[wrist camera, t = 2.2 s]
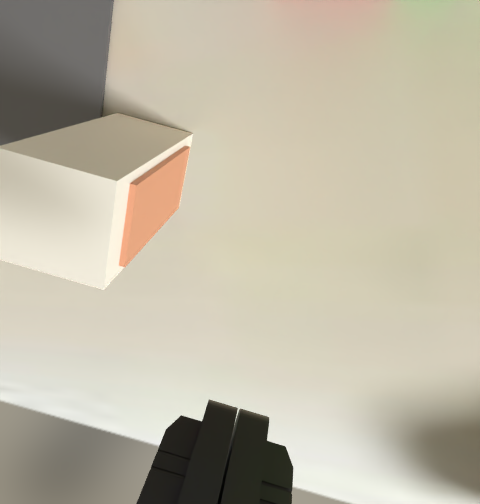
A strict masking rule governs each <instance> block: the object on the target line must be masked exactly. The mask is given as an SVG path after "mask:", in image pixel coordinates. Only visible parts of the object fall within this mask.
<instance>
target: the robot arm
mask: <svg viewBox="0 0 480 504" xmlns="http://www.w3.org/2000/svg"><path fill="white" fill-rule="evenodd" d="M237 409H238V408H236V407H232V406H229V405H226V404H222V403H219V402H216V401H212V400H209V401H208V404H207V408H206V411H205V414H204V417H203V421H202V422H201V421H198V420H195V419H191V418H188V417H185V416H180V417H179V418H178V419H177V420H176V421H175V422H174V423H173V424H172V425H170V426H169V427H168V428H167V429H166V431H165V434H164V436H163V439H162V441H161V444H160V446H159V449H158V452H157V454H156V456H155V459H154V461H153V464H152V467H151V470H150V471H149V474H148V476H147V479H146V481H145V484H144V486H143V489H142V491H141V494H140V497H139V499H138V501H137V504H291V503H292V494H291V492H292V482H293V466H292V463H291V460H290V458H289V455H288V452H287V450H286V447H285V446H282V445H279V444H275V443H272V442H269V441H267V434H268V426H269V417H267V416H263V415H260V414H257V413H253V412H250V411H246V410H243V409H240V410H239V412H238V415H237V418H236V414H237ZM235 419H236V422H235ZM234 424H235V425H234Z"/></svg>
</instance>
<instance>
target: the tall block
mask: <svg viewBox="0 0 480 504" xmlns="http://www.w3.org/2000/svg"><path fill="white" fill-rule="evenodd" d="M192 137H193V133H189V132H186V131H182V130H178V129H175V128H171V127H168V126H164V125H160V124H157V123H153V122H149V121H146V120H142V119H138V118H135V117H131V116H127V115H124V114H120V113H115V114H112V115H108V116H105V117H101V118H98V119H94V120H90V121H87V122H83V123H80V124H76V125H73V126H69V127H66V128H62V129H58V130H55V131H51V132H48V133H44V134H41V135H37V136H33V137H30V138H26V139H23V140H19V141H16V142H12V143H8V144H5V145H1V146H0V260H2V261H6V262H9V263H12V264H16V265H19V266H23V267H26V268H30V269H33V270H36V271H40V272H43V273H47V274H50V275H54V276H57V277H60V278H64V279H67V280H71V281H74V282H78V283H81V284H84V285H88V286H91V287H95V288H98V289H102V290H104V289H105V288H106V287H107V286H108V285H109V284H110V283H111V281H112V280H113V279H114V278H115V277H116V276H117V275H118V274H119V273H120V271H121V270H122V269H123V268H124V267H126V266H127V264H128V263H129V262H130V261H131V260H132V259H133V258H134V257H135V256H136V255H137V253H138V252H139V251H140V250H141V249H142V248H143V247H144V246H145V245H146V243H147V242H148V241H149V240H150V239H151V238H152V237H153V236H154V235H155V233H156V232H157V231H158V230H159V229H160V228H161V227H162V226H163V225H164V224H165V222H166V221H167V220H168V219H169V218H170V217H171V216H172V215H173V214H174V212H175V211H176V210H177V209H178V208H179V206H180V200H181V195H182V190H183V184H184V179H185V174H186V169H187V163H188V158H189V153H190V148H191V142H192Z"/></svg>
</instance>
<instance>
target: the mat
mask: <svg viewBox="0 0 480 504" xmlns="http://www.w3.org/2000/svg"><path fill="white" fill-rule="evenodd" d="M113 2H114V0H0V146H1V145H5V144H8V143H12V142H16V141H19V140H23V139H26V138H30V137H33V136H37V135H41V134H44V133H48V132H51V131H55V130H58V129H62V128H66V127H69V126H73V125H76V124H80V123H83V122H87V121H90V120H94V119H98V118H101V117H102V110H103V100H104V90H105V80H106V70H107V61H108V51H109V41H110V31H111V21H112V11H113Z"/></svg>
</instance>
